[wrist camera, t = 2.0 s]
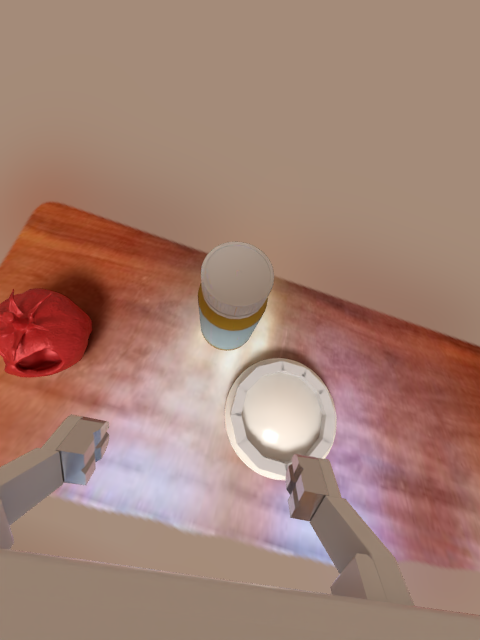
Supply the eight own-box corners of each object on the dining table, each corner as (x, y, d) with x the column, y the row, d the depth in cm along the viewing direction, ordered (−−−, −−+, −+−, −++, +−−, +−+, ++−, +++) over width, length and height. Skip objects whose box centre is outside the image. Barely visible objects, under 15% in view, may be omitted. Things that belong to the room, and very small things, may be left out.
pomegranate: (41, 296, 34) (-18, 255, 25) (113, 317, 34) (80, 283, 25) (-4, 368, 30) (-91, 349, 22) (77, 391, 30) (23, 381, 22)
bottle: (217, 294, 37) (223, 224, 22) (260, 319, 36) (293, 262, 22) (191, 334, 34) (178, 283, 20) (235, 361, 34) (255, 327, 20)
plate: (353, 415, 33) (363, 415, 31) (283, 507, 29) (288, 514, 27) (276, 338, 35) (281, 334, 33) (200, 413, 31) (200, 413, 29)
